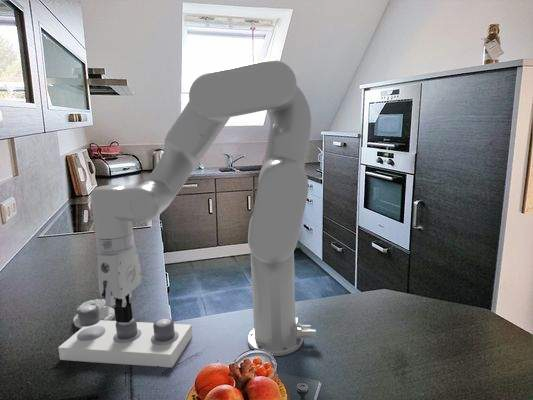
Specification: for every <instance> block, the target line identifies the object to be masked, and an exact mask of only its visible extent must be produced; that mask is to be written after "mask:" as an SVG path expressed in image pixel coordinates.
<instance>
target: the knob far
mask: <svg viewBox="0 0 533 400" xmlns="http://www.w3.org/2000/svg"><path fill="white" fill-rule="evenodd" d="M77 314H78V319H79V325H80V326H83V327H87V326H92V325H95V324H97V323H98V322H99V321H100V314H99V307H98V306H96V305H88V306H85V307H83V308H81V309H79V310H78V311H77Z"/></svg>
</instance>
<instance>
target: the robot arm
mask: <svg viewBox="0 0 533 400" xmlns="http://www.w3.org/2000/svg"><path fill="white" fill-rule="evenodd" d="M297 83H298V82H297V78H296V74H295V72H294V71H293V68H291V67H290V66H289V64H287V63H285V62H283V61H280V60H277V59H268V60H262V61H256V62H252V63H247V64H243V65H238V66H234V67H230V68H229V67H228V68H225V69H220V70H219V69H218V70H215V71H210V72H207V73H204V74H201V75H200V76H198V77H197V78H196V79H195V80H194V81H193V82H192V84H191V86H190V88H189V95H188V98H189V99H188V102H187V104H186V106H185V107H184V108H183V109H182V111H181V113H180V114H179V115H178V117H177V119H176V120H175V121H174V123H173V124H172V126H171V128H170V129H169V131H168V132H167V134H166V136H165V137H164V145H163V146H164V147H163V152H162V155H161V157H160V159H159V161H158V163H156V165H155V167H154V168H153V170H152V172H150V174H149V176H148V177H147V179H146V180H145V181H144V182H142V183H140V184H139V185H137V186H133V187H126V186H125V185H122V184H107V185H100V186H97V187H95V188H93V189H92V190H91V192H90V202H91V209H92V217H93V227H94V233H95V241H96V243H95V244H96V251H97V278H98V281H97V282H98V290H99V295H100V297H101V299H104V300H105V305H106V306H109V307H112V308H113V307H114V308H113V309H114V312H115V316H114V317H115V321H116V322H126V323H129V322H130V320H132V319H133V317H134V316H133V309H132V301H133V291H134V290H135V289H136V288H137V287H138V286H139V285H140V284H141V283H142V281H143V280H142V269H141V264H140V259H139V254H138V249H137V246H136V243H135V237H134V229H133V222H136V223H147V222H151V221H153V220H155V219H157V217H159V215H161V214H162V213H163V212H164V211H165V210H166V209H167V208H168V207H169V206H170V205H171V203H172V202H173V201H174V199H175V198H176V196H177V195H178V194H179V192H180V191H181V189H182V187H183V186H184V185H185V184H186V182H187V180H189V177H190V175H191V174H192V173H193V171H194V170H195V169H196V168H197V167H198V166H199V163H201V161H202V159H203V158H204V156H205V154H206V153H208V150H209V149H210V147H211V145H212V144H213V143H214V141H215V140H216V138H217V137H218V135H219V134H220V132H221V131H223V129H224V128H225V126H226V124H227V123H228V122H229V120H230V119H231V118H233V117H239V116H244V115H248V114H249V115H250V114H254V113H258V112H264V111H267V113H268V115H269V116H268V117H269V130H268V137H267V143H266V148H265V153H264V158H263V162H262V166H261V169H260V171H259V174H258V183H257V189H256V196H255V198H254V199H255V200H254V205H253V210H252V215H251V217H250V219H249V222H248V231H247V232H248V235H247V242H248V248H249V249H250V270H251V289H252V290H251V292H252V293H251V294H252V296H251V297H252V311H253V314H252V315H253V329H252V330H250V332H249V333H248V335H247V343H248V345H249V348H250V349H251V350H252V349H257V348H259V349H264V350H266V351H268V352H270V353H271V354H273V355H274V356H273V357H279V356H280V357H281V356H286V355H289V354H292V353H294V352H296V351H297V350H299V349H300V348H301V346H302V345H303V342H304V339H311V340H312V339H313V340H314V339H317V338H316V337H317V336H316V335H317V334H316V333H317V331H316V329H312V325H311V324H301V323H300V322H299V317H298V316H297V317H296V291H295V290H296V289H295V286H296V285H295V276H296V275H295V253H294V251H295V249H296V247H297V244H298V242H299V241H298V240H299V237H300V232H301V230H302V229H301V228H302V224H303V218H304V216H305V215H304V214H305V209H306V206H307V201H308V196H309V195H308V194H309V179H308V174H307V173H306V171H305V165H306V160H307V156H308V155H307V154H308V150H309V144H310V143H309V142H310V137H311V130H312V115H311V114H312V113H311V109H310V106H309V104H308V101H307V98H306V96H305V95H304V92H303V91H302V90H301V88H300V87H299V86H298V84H297Z"/></svg>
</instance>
